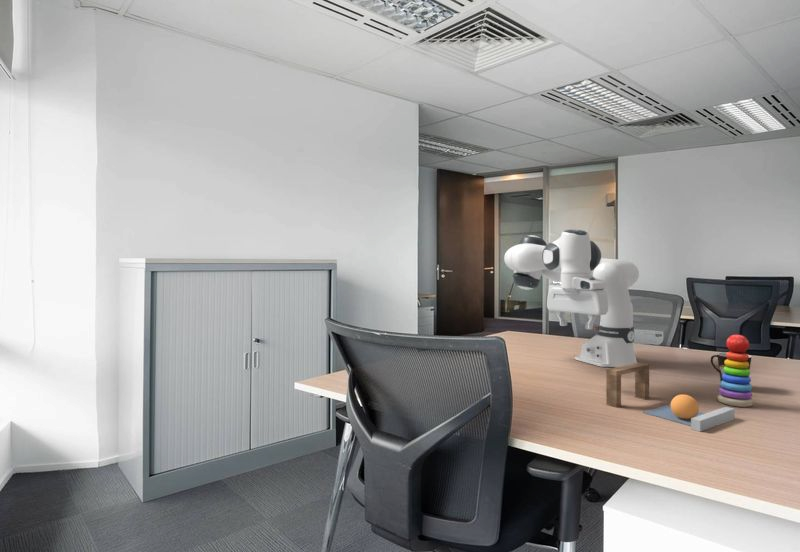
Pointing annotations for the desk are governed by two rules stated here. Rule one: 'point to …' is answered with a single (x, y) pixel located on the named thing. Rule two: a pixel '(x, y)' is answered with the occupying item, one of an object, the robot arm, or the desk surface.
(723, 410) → the stopper wall
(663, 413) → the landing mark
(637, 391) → the bridge
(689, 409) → the ball
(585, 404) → the desk surface
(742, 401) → the stacking toy
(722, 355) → the coffee mug
